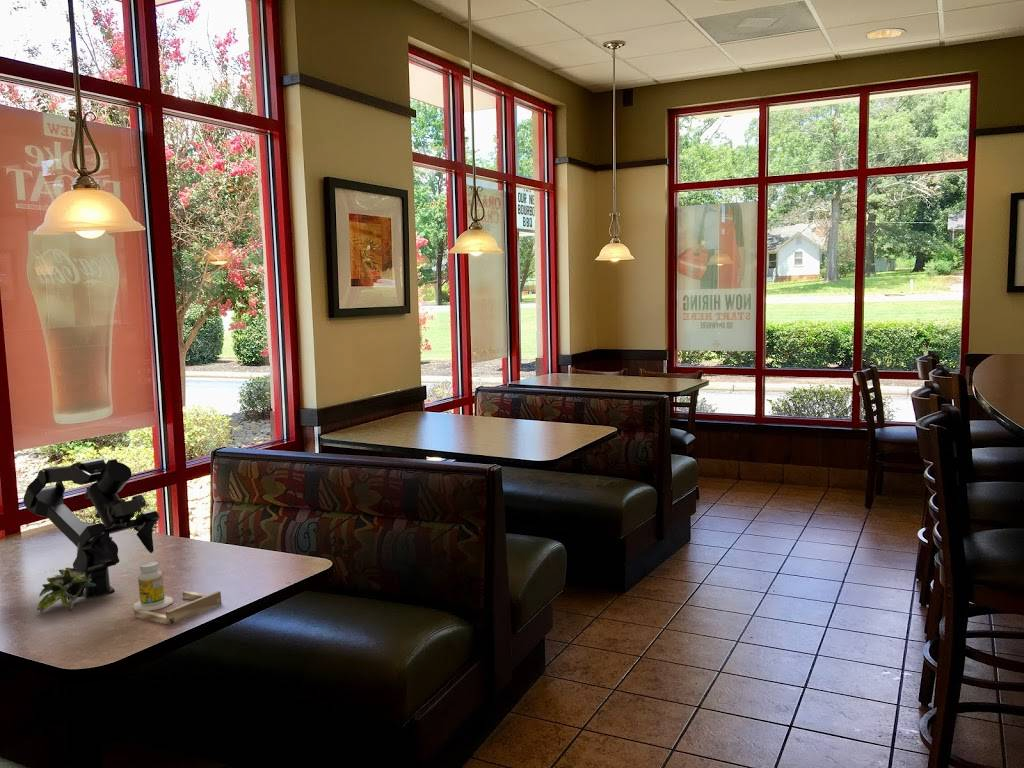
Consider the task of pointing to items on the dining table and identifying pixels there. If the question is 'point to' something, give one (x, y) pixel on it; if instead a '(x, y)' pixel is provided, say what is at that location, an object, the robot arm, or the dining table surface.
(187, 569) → the dining table surface
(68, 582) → the green leafy plant
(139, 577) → the supplement bottle
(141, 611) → the wooden slat frame
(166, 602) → the coaster
